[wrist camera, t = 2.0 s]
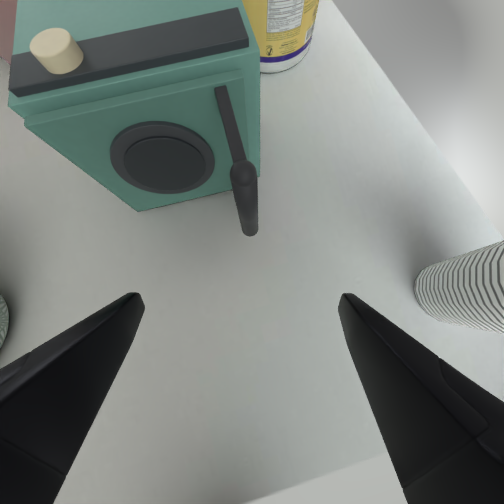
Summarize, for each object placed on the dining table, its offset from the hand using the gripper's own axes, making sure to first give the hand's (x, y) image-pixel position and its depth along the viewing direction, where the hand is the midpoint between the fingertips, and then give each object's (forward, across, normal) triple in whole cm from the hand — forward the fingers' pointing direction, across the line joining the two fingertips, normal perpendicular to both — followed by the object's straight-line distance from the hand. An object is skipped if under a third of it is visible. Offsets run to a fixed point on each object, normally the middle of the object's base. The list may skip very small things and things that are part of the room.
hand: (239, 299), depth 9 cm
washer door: (+15, +6, +2) cm, 16 cm away
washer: (+23, +8, -4) cm, 25 cm away
